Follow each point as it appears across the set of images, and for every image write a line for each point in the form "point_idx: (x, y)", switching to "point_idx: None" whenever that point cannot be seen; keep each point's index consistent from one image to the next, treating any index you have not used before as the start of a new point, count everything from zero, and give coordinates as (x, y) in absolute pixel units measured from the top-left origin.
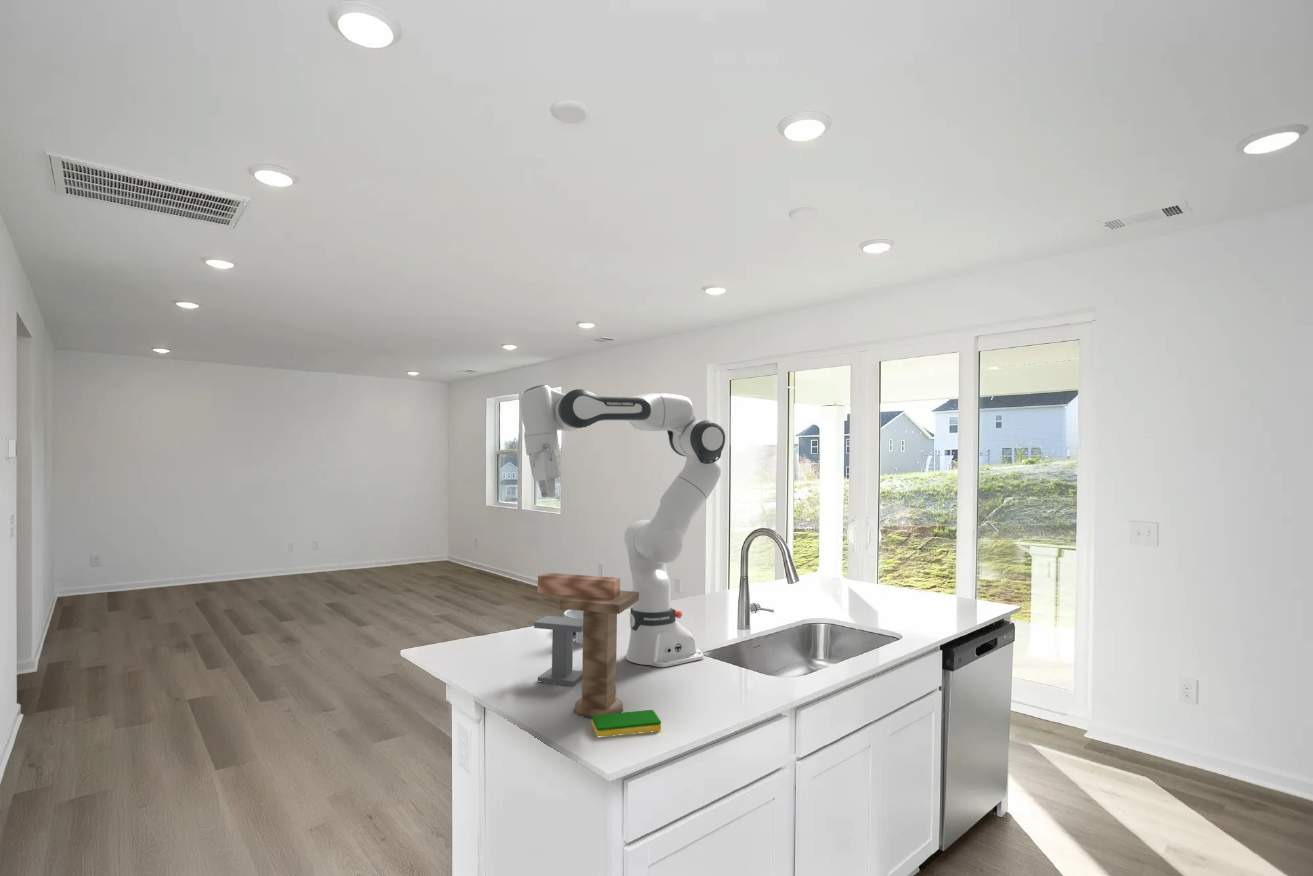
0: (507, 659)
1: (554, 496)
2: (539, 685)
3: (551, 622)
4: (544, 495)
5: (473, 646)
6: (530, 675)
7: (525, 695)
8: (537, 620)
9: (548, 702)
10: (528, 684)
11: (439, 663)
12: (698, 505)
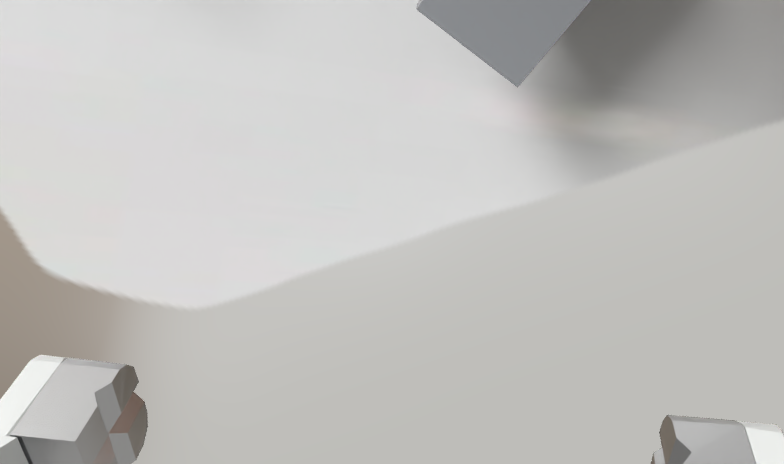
0: (240, 77)
1: (775, 428)
2: None
3: (556, 10)
4: (133, 427)
5: (64, 169)
6: None
7: (629, 77)
8: (493, 67)
9: (726, 17)
10: None
11: (238, 280)
12: None
